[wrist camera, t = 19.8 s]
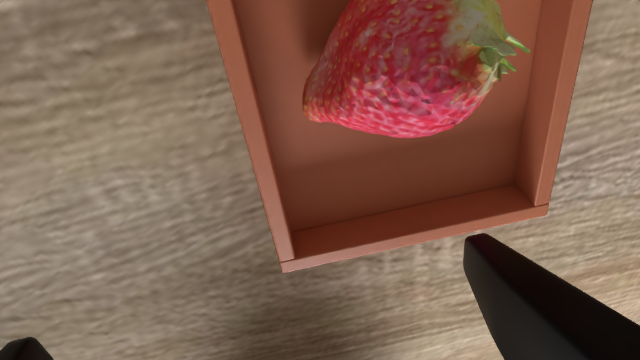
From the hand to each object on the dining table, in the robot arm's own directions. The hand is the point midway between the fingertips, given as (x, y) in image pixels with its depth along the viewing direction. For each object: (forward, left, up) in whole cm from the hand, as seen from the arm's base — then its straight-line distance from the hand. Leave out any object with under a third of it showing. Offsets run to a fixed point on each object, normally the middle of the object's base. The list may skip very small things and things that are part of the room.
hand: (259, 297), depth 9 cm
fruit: (+3, -4, -7) cm, 9 cm away
